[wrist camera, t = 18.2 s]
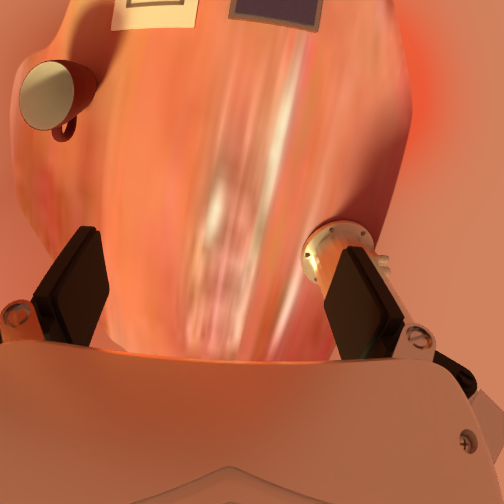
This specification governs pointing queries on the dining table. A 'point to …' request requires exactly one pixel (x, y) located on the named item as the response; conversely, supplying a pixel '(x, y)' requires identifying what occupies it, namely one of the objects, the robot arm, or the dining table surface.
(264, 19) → the ink pad
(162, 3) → the card
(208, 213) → the dining table surface
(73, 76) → the mug
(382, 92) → the dining table surface
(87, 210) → the dining table surface
